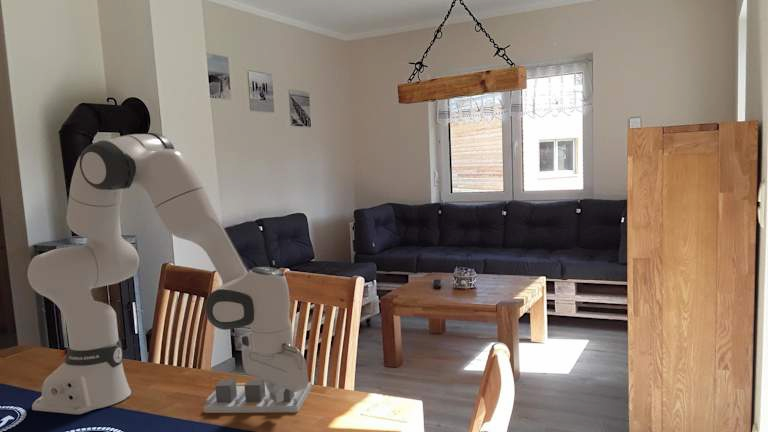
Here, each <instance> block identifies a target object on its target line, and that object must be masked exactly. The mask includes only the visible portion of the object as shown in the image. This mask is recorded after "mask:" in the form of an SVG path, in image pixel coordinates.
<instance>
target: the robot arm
mask: <svg viewBox="0 0 768 432" xmlns="http://www.w3.org/2000/svg"><path fill="white" fill-rule="evenodd" d="M195 171H196V170H194V168H193V167H192V165H191V164H190V162H189V161H188V159H187V158H186V157H185V155H184V154H183V153H182V152H181V151H179V150H176V149H175V147H174V144H173V143H172V142H171V140H170V139H169V138H168V137H166V136H165V135H162V134H159V133H154V132H144V133H134V134H125V135H121V136H118V137H114V138H110V139H107V140H105V139H104V140H99V141H96V142H93V143H90V144H89V145H88V146H86V147H85V148H84V149H83V150H82V152H81V154H80V155H79V156H78V159H77V161H76V164H75V167H74V169H73V173H72V177H71V181H70V187H69V193H68V194H69V195H68V203H67V210H66V211H67V212H66V218H65V219H66V224H67V226H68V228H69V229H70V231H72V232H73V233H74V234H76V235H78V236H79V237H82V238H84V239H86V242H85V243H84V244H81V245H74V246H67V247H61V248H55V249H51V250H49V251H46V252H43V253H41V254H38V255H35V256H34V257H33V258H32V259H31V261H30V263H29V265H28V269H27V280H28V282H29V283H28V284H29V285H30V287H31V288H32V289H33V291H35V292H36V293H38V294H39V295H41V296H43V297H45V298H47V299H48V300H50V301H52V303H54V304H55V306H57V308H58V309H59V310H60V312H61V313H62V316H63V318H64V321H65V322H64V323H65V324H66V325H65V326H66V330H67V336H68V344H69V346H68V347H66V348H65V349H64V350H63V351H61V352H59V354H60V356H59V357H60V358H62V357H64V361H63V363H61V365H59V366H58V367H57V368H56V369H55V370H54V371H53V372H52V373H50V375H48V376H47V377H46V379H45V380H44V381H43V383H42V387H41V396H40V397H39V398H37V399H35V401H34V402H33V403H32V405H31V410H32V411H39V412H49V413H60V414H68V415H82V414H84V413H88V412H91V411H94V410H97V409H103V408H106V407H109V406H113V405H116V404H118V403H120V402H121V401H122V402H123V401H125V400H126V399H127V398H128V397H130V395H131V394H132V390H131V388H130V386H129V383H128V381H127V377H126V374H125V371H124V370H125V369H124V365H123V349H122V348H123V347H122V340H121V338H119V329H118V321H117V312H116V311H115V310H114V308H113V307H112V306H111V305H109V304H107V303H104V302H102V301H98V300H94V297H93V295H92V289H97V288H102V287H105V286H110V285H115V284H119V283H121V282H123V281H125V280H128V279H130V278H132V277H134V276H135V275H136V274H137V272H138V269H139V265H140V257H139V254H138V251H137V250H136V248H135V247H134V246H133V245H132V243H130V242H128V241H127V240H125V238H123V236H122V234H121V231H120V227H119V225H120V223H119V221H120V211H121V203H122V196H123V189H124V190H125V189H130V187H134V186H139V187H141V188H143V189H144V190H145V191H146V193H147V194H148V196H149V198H150V200H151V203H152V205H153V207H154V209H155V211H156V214H157V216H158V218H159V219H160V221H161V223H162V224H163V226H164V227H165V228H166V230H167V231H168V232H169V234H171V235H173V236H175V237H177V238H179V239H182V240H186V241H189V242H191V243H194V244H196V245H198V246H199V247H201V249H202V250H203V251H204V252H205V253H206V254H207V256H208V258H209V260H210V261H211V263H212V265H213V266H214V269H215V270H216V272H217V274H218V276H219V278H220V279H221V283H222V285H220V286H219V287H217V288H216V289H214V290H213V291H212V292H211V293H210V294H209V295H208V296H207V297H206V299H205V303H204V312H205V316H206V319H207V320H208V321H209V323H210V324H211V325H213V327H215V328H217V329H219V330H225V331H226V330H227V331H228V330H233V329H238V328H242V327H246V326H249V327H250V332H247V333H245V334H242V335H241V334H240V336H239V342H240V343H239V344H240V345H242V346H241V357H242V358H241V360H242V365H243V369H244V370H245V373H246V374H248V375H251V376H254V377H256V378H259V379H263V380H264V382H265V384H266V387H267V389H268V391H269V395H270V399H271V400H273V401H276V402H278V403H279V402H282V401H283V400H284V394H283V393H284V391H285V389H288V390H291V391H293V392H297V391H300V390H303V389H305V388H307V386H308V383H309V382H310V381H309V373H308V368H307V363H306V359H305V357H304V355H303V353H301V351H300V350H299V348H298V347H296V346H294V341H293V340H294V339H293V326H292V321H291V319H290V309H291V299H290V290H289V284H288V280H287V277H286V275H285V273H284V272H283V271H282V270H280V269H278V268H275V267H272V266H271V267H270V266H257V267H253V268H250V269H249V268H248V267H247V265H246V264H245V261H244V260H243V258H242V256H241V254H240V253H239V251H238V248H237V247H236V246H235V243H234V242H233V241H232V239H231V237H230V235H229V234H228V232H227V230H226V229H225V227H224V225H223V223H222V222H221V219H220V218H219V217H218V215H217V213H216V211H215V209H214V207H213V205H212V203H211V201H210V199H209V197H208V194H207V192H206V190H205V188H204V186H203V185H202V182H201V181H200V178H199V177H198V175H197V173H196V172H195Z"/></svg>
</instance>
